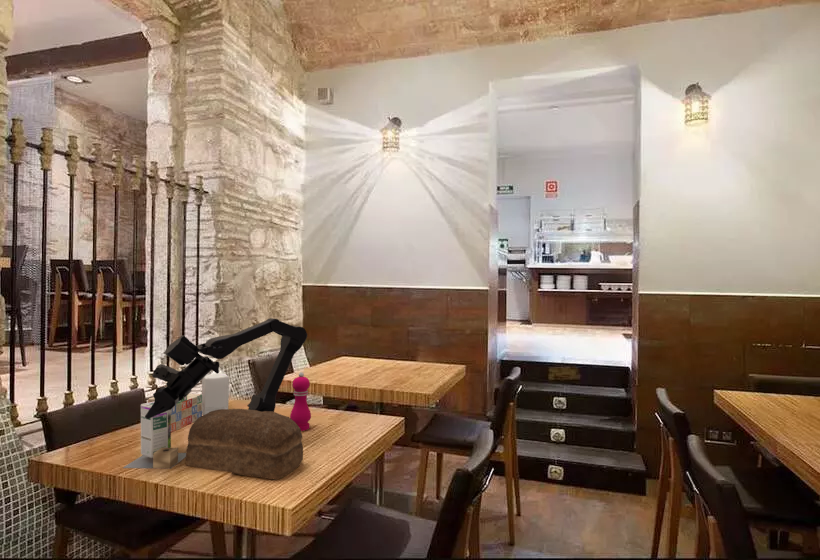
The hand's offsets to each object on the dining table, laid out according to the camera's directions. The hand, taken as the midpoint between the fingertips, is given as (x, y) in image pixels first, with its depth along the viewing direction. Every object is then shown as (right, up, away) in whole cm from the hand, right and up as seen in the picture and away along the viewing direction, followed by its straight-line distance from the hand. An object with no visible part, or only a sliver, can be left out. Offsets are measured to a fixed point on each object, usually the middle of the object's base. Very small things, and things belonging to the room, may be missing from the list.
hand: (151, 414), depth 135 cm
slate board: (+3, -13, -1) cm, 14 cm away
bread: (+28, -14, -3) cm, 31 cm away
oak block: (+7, -13, -5) cm, 15 cm away
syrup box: (+1, -11, 0) cm, 12 cm away
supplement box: (-3, -15, +51) cm, 53 cm away
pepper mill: (+35, -15, +32) cm, 50 cm away
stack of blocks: (-10, -14, +34) cm, 38 cm away
